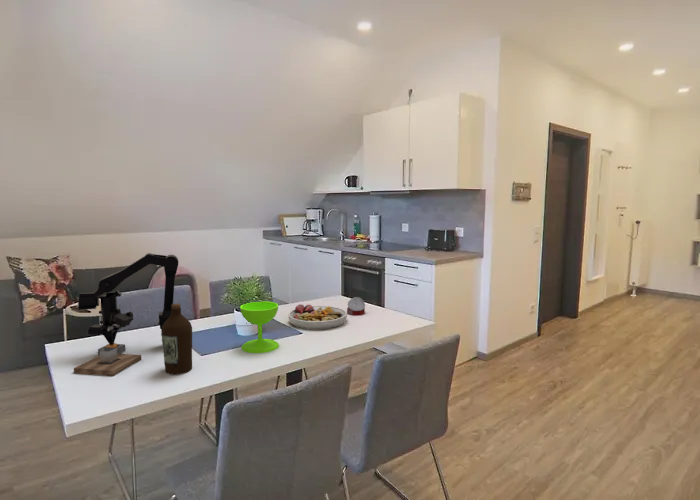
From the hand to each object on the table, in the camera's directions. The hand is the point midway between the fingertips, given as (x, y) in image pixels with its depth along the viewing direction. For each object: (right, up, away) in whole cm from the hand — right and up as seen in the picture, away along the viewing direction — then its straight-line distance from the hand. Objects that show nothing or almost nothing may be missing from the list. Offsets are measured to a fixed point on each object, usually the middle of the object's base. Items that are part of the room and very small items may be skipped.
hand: (111, 344), depth 176 cm
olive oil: (+34, -6, -16) cm, 38 cm away
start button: (0, -3, 0) cm, 3 cm away
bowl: (+81, +1, +46) cm, 93 cm away
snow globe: (+101, +3, +63) cm, 119 cm away
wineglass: (+59, -3, +9) cm, 60 cm away
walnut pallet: (+6, -5, -13) cm, 15 cm away
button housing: (0, -4, 0) cm, 4 cm away
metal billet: (+6, -5, -13) cm, 15 cm away
